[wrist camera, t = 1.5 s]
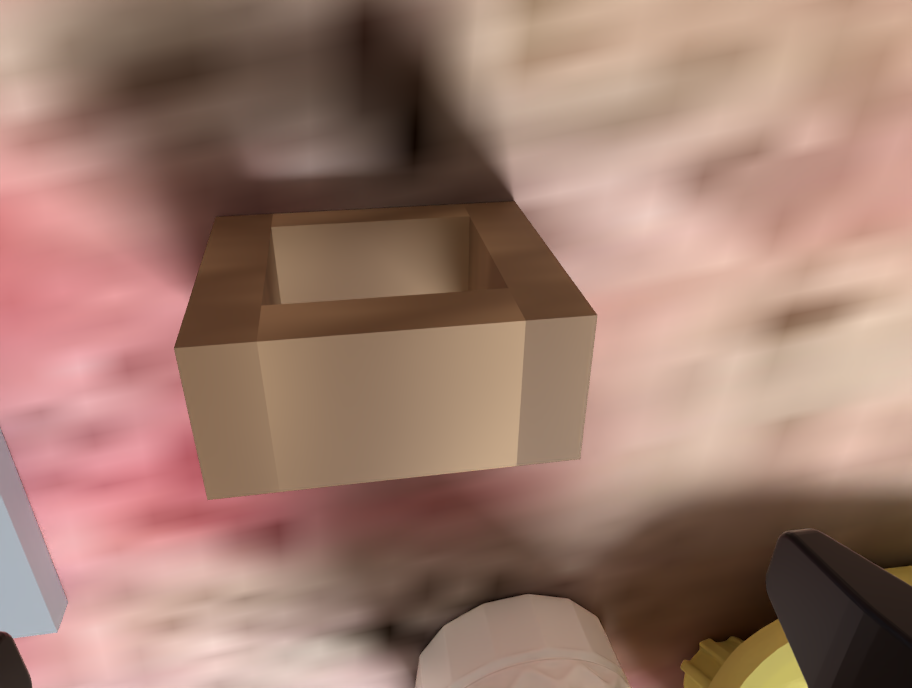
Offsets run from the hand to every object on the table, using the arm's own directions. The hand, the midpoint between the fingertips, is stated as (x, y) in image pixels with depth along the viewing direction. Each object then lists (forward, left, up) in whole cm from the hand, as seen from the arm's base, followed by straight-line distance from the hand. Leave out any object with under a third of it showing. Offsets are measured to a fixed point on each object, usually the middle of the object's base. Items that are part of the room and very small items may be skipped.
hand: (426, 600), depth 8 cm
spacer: (0, 0, -10) cm, 10 cm away
